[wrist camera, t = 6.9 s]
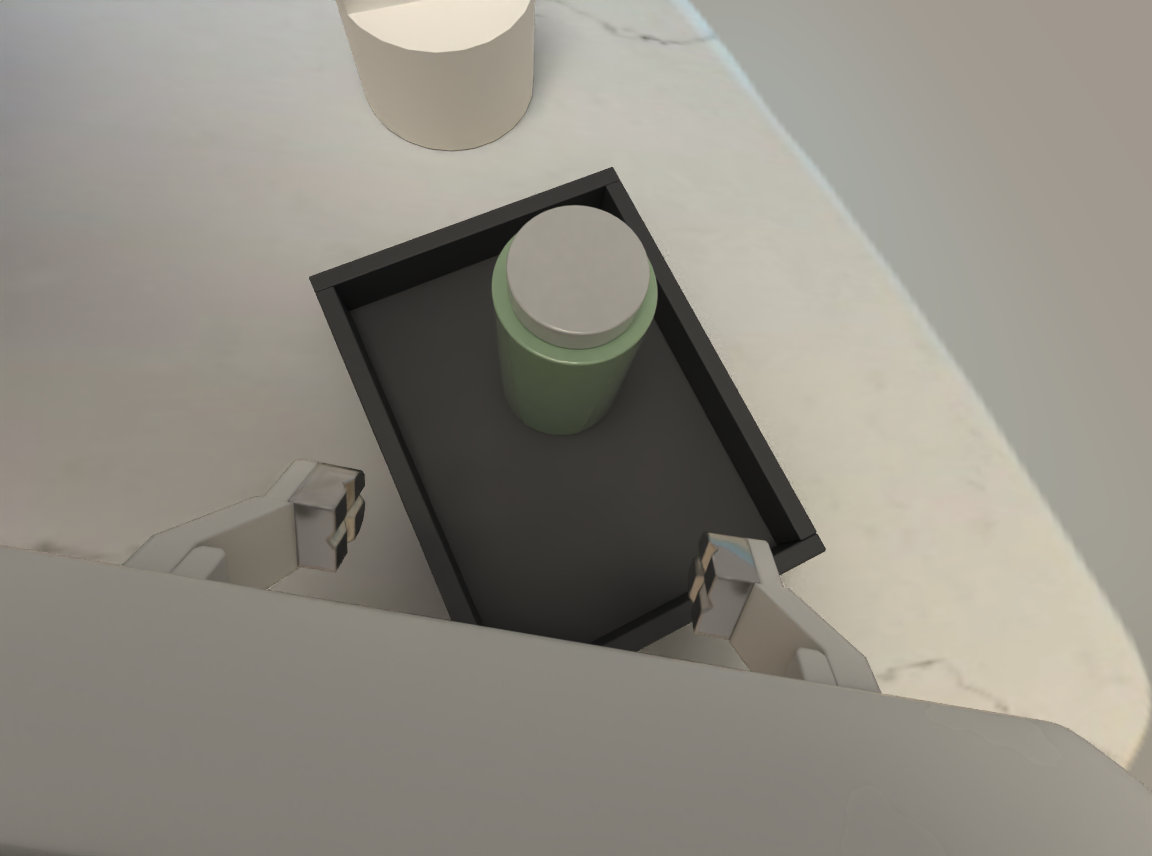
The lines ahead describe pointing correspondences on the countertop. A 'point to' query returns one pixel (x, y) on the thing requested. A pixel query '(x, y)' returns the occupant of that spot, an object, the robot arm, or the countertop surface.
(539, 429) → the salt shaker
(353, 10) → the base with upright slab
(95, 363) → the countertop surface
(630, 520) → the tray
